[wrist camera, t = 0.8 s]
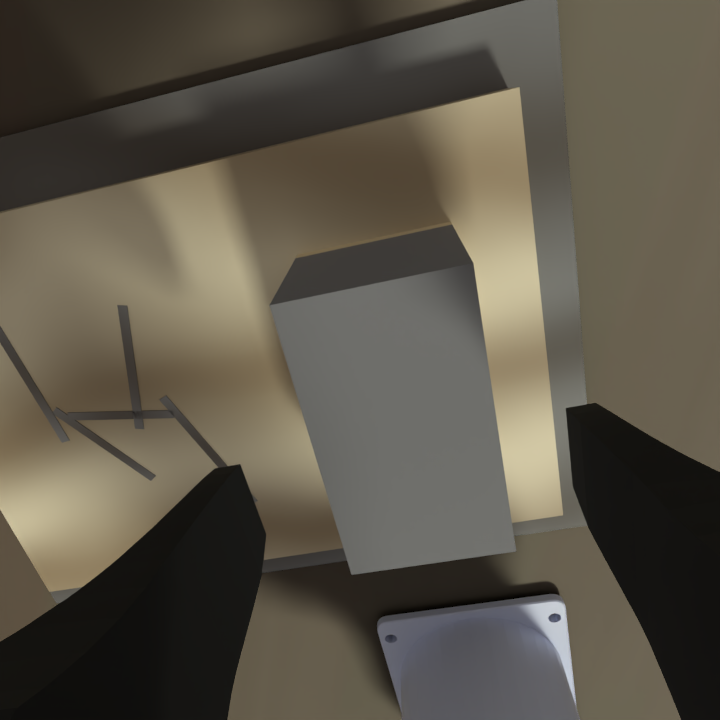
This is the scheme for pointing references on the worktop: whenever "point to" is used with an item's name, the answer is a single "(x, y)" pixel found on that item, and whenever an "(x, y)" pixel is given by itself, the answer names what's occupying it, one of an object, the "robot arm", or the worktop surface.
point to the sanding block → (398, 397)
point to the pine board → (272, 279)
